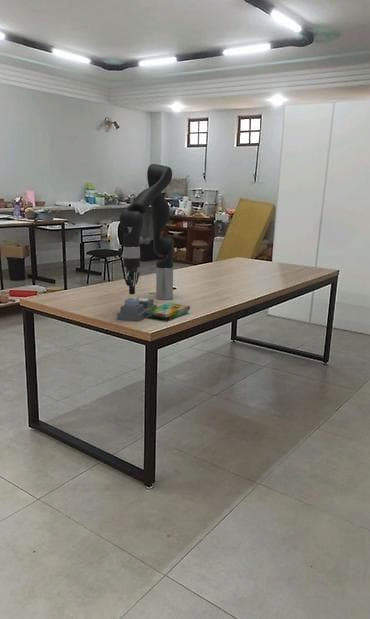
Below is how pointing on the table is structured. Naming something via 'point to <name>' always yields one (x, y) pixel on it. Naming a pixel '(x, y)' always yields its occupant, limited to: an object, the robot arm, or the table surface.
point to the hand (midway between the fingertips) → (132, 294)
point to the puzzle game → (168, 311)
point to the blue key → (131, 302)
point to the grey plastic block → (136, 311)
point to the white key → (143, 299)
